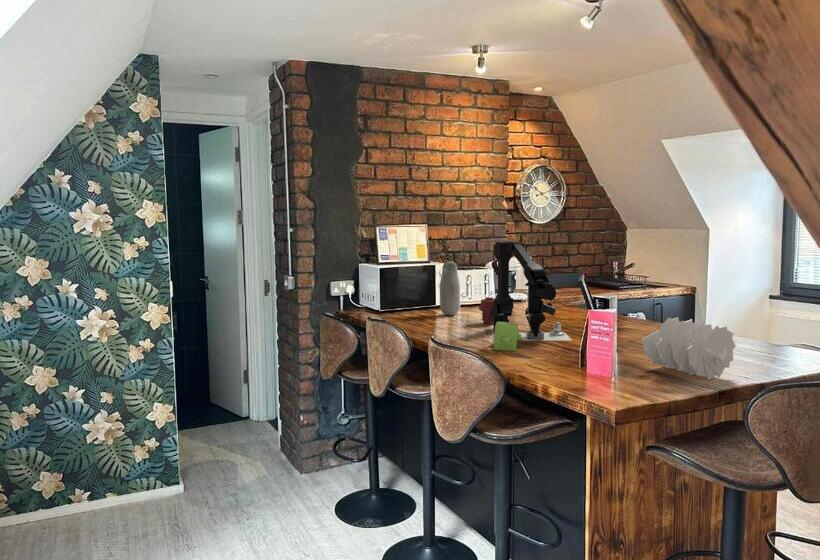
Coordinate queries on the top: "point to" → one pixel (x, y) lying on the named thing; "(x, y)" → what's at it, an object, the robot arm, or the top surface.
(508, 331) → the green pegged block
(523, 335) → the mat
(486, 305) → the mechanical component
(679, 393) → the top surface
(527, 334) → the square frame
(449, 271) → the grey bottle
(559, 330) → the silver domed knob
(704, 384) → the top surface
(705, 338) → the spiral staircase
